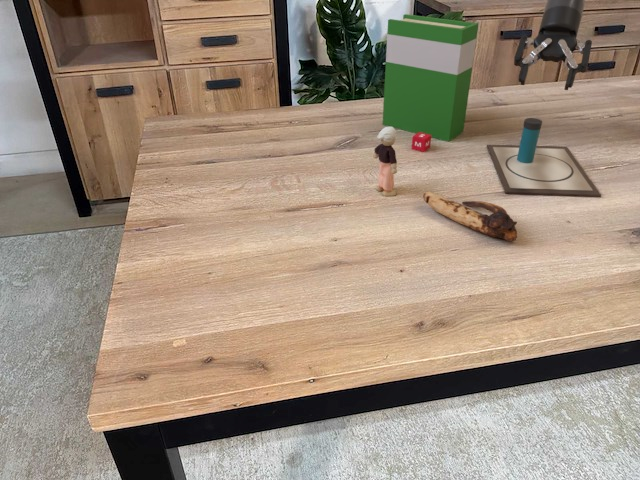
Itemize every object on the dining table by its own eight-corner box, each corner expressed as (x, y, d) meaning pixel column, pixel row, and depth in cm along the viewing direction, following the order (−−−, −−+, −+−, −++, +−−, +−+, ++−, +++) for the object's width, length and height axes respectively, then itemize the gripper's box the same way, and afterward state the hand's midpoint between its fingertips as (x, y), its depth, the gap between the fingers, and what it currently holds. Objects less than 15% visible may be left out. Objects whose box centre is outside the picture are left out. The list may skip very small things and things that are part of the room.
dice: (423, 152, 116) (424, 139, 114) (411, 149, 117) (412, 136, 116) (430, 147, 118) (431, 134, 116) (418, 144, 119) (419, 131, 118)
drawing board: (566, 148, 116) (566, 145, 116) (600, 197, 98) (601, 194, 98) (486, 146, 118) (487, 143, 117) (505, 194, 100) (506, 191, 99)
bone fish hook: (533, 232, 89) (443, 194, 100) (540, 207, 87) (447, 171, 97) (504, 253, 84) (413, 210, 94) (511, 227, 81) (416, 186, 92)
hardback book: (382, 124, 129) (388, 19, 116) (398, 115, 134) (405, 14, 121) (448, 141, 120) (462, 29, 107) (463, 131, 125) (478, 23, 112)
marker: (531, 156, 111) (539, 117, 107) (535, 163, 109) (544, 124, 104) (515, 156, 112) (523, 117, 107) (518, 163, 109) (526, 123, 104)
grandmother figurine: (405, 194, 100) (411, 130, 93) (390, 200, 98) (394, 136, 91) (379, 179, 105) (382, 118, 98) (363, 185, 103) (366, 122, 96)
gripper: (527, 2, 111) (508, 72, 109) (602, 6, 106) (584, 80, 103) (526, 24, 118) (508, 90, 116) (596, 29, 113) (579, 98, 110)
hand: (544, 85), depth 109 cm, fingers open, 8 cm apart
